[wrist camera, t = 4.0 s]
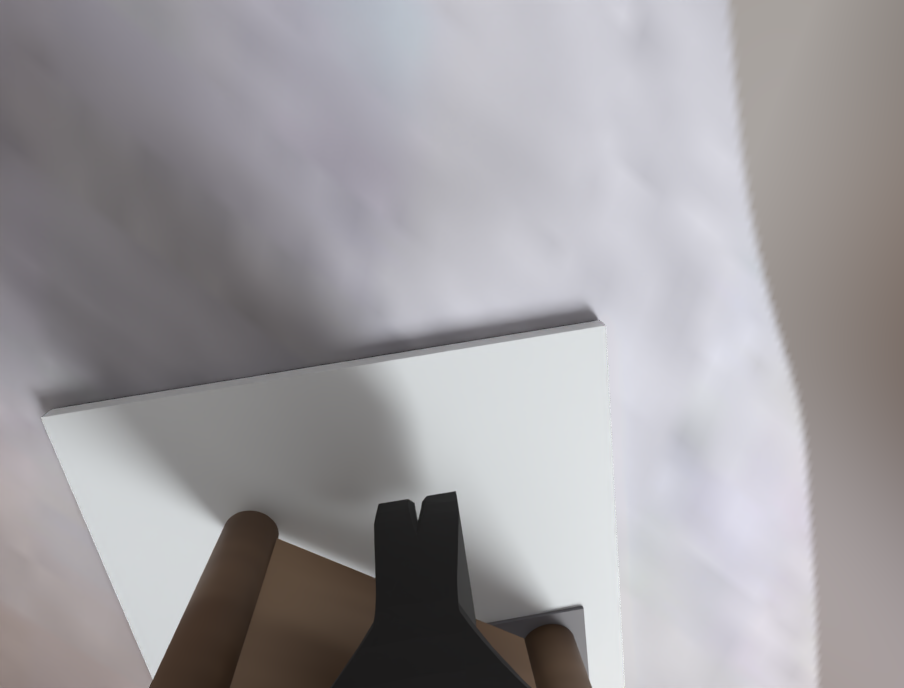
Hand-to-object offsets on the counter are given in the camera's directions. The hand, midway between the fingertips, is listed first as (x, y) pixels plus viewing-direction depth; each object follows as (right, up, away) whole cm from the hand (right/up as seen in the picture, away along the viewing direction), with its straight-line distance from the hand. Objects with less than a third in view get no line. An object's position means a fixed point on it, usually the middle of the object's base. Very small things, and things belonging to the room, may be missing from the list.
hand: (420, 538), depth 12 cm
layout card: (-1, -4, +4) cm, 6 cm away
